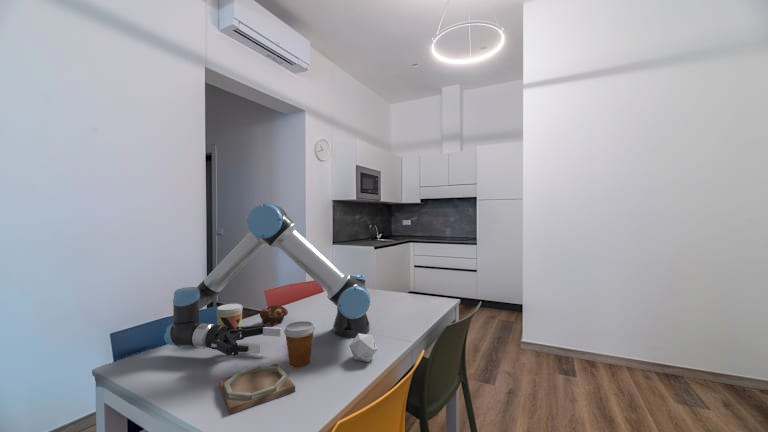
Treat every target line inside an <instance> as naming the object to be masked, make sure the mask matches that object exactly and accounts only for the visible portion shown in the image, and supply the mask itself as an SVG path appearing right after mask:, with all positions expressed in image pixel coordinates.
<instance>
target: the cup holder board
mask: <svg viewBox="0 0 768 432" xmlns="http://www.w3.org/2000/svg"><path fill="white" fill-rule="evenodd" d="M218 386H219V390H220V392H221V394H222V397H223V399H224V402H225V405H226V408H227V410H228V414H229V415H232V414H235V413H237V412H241V411H243V410H247V409H249V408H251V407H255V406H257V405H260V404H263V403H266V402H269V401H273V400H275V399H278V398H280V397H283V396H285V395H286V396H287V395H289V394H293V393H294V392H296V385H295V383H294V382H293V381H292V380H291V379H290V378H289V376H288V374H287V373H286V372H285V371H284V369H283V368H282V367H281V366H279V364H278V363H273V364H270V365H257V366H254V367H251V368H246V369H242V370H239V371H237V372H236V373H235V374H234V375H230V376H228V377H224V378H220V379H218Z"/></svg>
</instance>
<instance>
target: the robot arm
mask: <svg viewBox="0 0 768 432" xmlns="http://www.w3.org/2000/svg"><path fill="white" fill-rule="evenodd" d="M246 225H247V229H248V230H249V231H248V233H247V234H246V235H245V236H244V237H243V238H242V239H241V240H240V241H239V242H238V243H237V244H236V246H235V247H233V249H232V250H231V251H230V252H229V253H227V255H226V256H225V257H224V258H223V259H222V260H221V261H220V262H219V263H218V264H217V265H216V267H214V269H212V270H211V272H210V273H209V274H208V275H207V276H206V277H205V278H204V279H203V280H202V281H201V282H200V283H198V285H197V286H186V287H182V288H177V289H176V290H174V292H173V299H172V304H173V308H172V309H173V311H172V312H173V317H172V318H173V321H172V322H173V323H170V324H169V325H168V326H167V327H166V329H165V330H166V331H165V333H164V337H163V338H164V341H165V343H166V344H168V345H169V346H173V347H174V346H176V347H179V348H180V347H187V348H190V347H191V348H201V349H204V350H205V349H211V350H214V351H215V350H216V351H218V352H220V353H222V354H224V355H226V356H232V355H233V356H238V355H239V353H245V354H246V353H247V354H260V353H261V346H260V345H261V344H260V343H256V342H241V341H242V340H244V339H245V338H250V337H256V336H261V335H262V336H263V337H264V336H266V337H279V338H280V337H281V336H282V328H281V327H269V326H267V324H263V323H262V324H256V325H246V326H241V327H239V326H238V327H236V330H235V329H232V330H229V329H228V327H227V326H226V325H218V324H215V323H214V324H213V323H201V322H200V310H201V309H203V308H205V307H206V306H207V305H210V304H211V303H213V301H214V300H215V299H216V298H217V296H218V295H219V294H220V292H222V290H223V289H224V288H225V287H226V286H227V285H228V284H229V283H230V282H231V281H232V280H233V279H234V278H235V277H236V275H238V273H239V272H240V271H241V270H242V269H243V268H244V267H245V266H246V265H247V264H248V263H249V262H250V261H251V260H252V259H253V258H254V257H255V255H257V253H258V252H260V250H261V249H262V248H263V247H264V246H265V245H266V244H267V245H268V246H269V247H271V248H278V249H280V251H282V253H284V254H285V255H286V256H287V257H288V258H289V259H290V260H292V261H293V262H294V263H295V264H296V265H297V266H299V268H301V270H303V271H304V272H305V273H306V274H307V275H308V276H309V277H311V278H312V279H313V280H314V281H315V282H316V283H317V284H318V285H319V286H320V287H321V288H323V290H325V291H326V292H327V298H328V300H329V301H330V302H331V303H332V304H334V305H335V306H336V307H337V309H336V310H337V312H336V316H335V318H334V322H333V325H332V331H333V332H332V333H333V334H334V335H336V336H339V337H345V338H346V337H347V338H351V337H352V338H355V337H356V336H357V334H358V333H360V334H367V333H369V332H370V330H371V329H370V327H371V326H370V325H371V324H370V321H369V318H368V315H367V313H368V310H369V309H370V306H371V295H370V293H369V291H368V290H367V288H366V276H365V275H364V274H351V273H344V272H342V271H341V270H340V269H339V268H338V267H337V266H335V264H333V263H332V262H331V261H330V260H329V259H328V258H327V257H325V255H324V254H322V253H321V252H320V251H319V250H318V249H317V248H316V247H315V246H314V245H313V244H312V243H311V242H310V241H308V240H307V239H306V238H305V237H304V236H303V235H302V234H300V232H298V230H297V229H296V222H294V221H293V220H292V219H291V218H290V217H289V216H288V214H287V212H286V211H285V210H284V208H282V207H281V206H278V205H275V204H271V203H260V204H258V205H256V206H254V207H253V208H252V209H251V210H250V211H249V212H248V214H247V218H246ZM237 341H240V342H239V343H238V342H237Z"/></svg>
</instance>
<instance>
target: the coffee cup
mask: <svg viewBox="0 0 768 432" xmlns="http://www.w3.org/2000/svg"><path fill="white" fill-rule="evenodd" d="M243 309H244V307H243V305H242V304H241V303H228V304H227V303H226V304H221V305H220V306H217V308H216V310H215V311H216V321H217V324H216V325H226V326H227V327H228V329H229V330H232V329H235V330H236V327H238V326H239V327H242V321H243V320H242V319H243Z"/></svg>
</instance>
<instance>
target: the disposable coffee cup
mask: <svg viewBox="0 0 768 432" xmlns="http://www.w3.org/2000/svg"><path fill="white" fill-rule="evenodd" d="M315 329H316V328H315V325H314V323H313V322H311V321H305V320H304V321H303V320H302V321H295V322H291V323H288V324H287V325H286V326H285V329H284V330H283V333H284V335H285V338H286V340H285V341H286V349H287V355H288V361H289V362H288V363H289V366H290V367H291V368H304V367H307V366H308V365H309V364H310V362H311V353H312V347H313V337H314V332H315Z"/></svg>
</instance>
